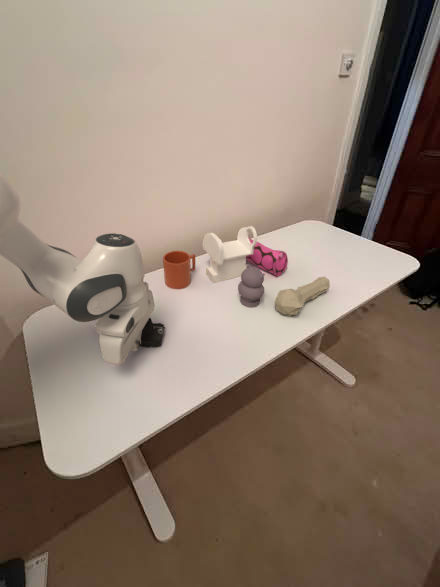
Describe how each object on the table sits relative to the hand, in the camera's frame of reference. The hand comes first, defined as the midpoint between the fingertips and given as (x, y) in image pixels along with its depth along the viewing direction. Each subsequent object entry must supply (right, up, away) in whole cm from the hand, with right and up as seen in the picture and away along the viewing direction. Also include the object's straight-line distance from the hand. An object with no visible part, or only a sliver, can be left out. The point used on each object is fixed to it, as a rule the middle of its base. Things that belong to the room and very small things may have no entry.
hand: (135, 347), depth 75 cm
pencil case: (+35, +24, +39) cm, 58 cm away
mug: (+8, +18, +29) cm, 35 cm away
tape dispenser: (+24, +20, +33) cm, 45 cm away
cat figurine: (+30, +11, +21) cm, 38 cm away
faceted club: (+48, +10, +22) cm, 54 cm away
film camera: (0, +1, +7) cm, 7 cm away
